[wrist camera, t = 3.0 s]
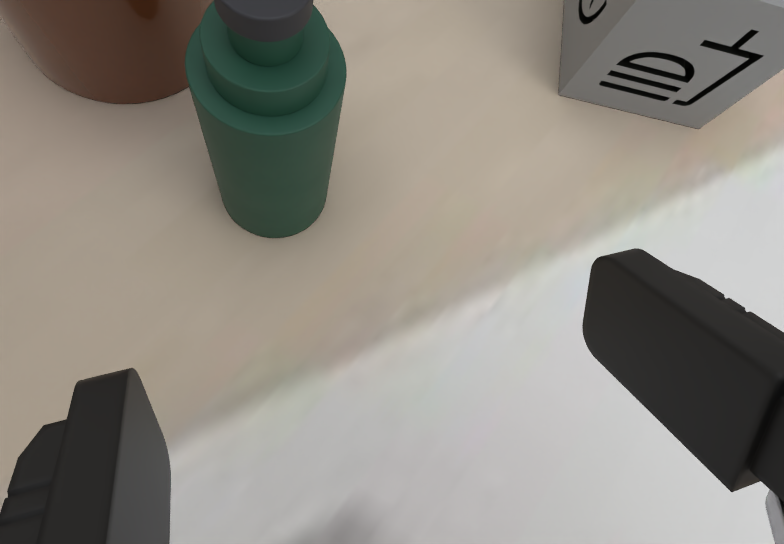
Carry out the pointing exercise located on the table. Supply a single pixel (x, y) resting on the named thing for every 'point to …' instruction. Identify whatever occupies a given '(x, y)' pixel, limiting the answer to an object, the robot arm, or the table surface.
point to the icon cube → (670, 54)
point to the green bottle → (268, 108)
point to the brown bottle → (108, 44)
